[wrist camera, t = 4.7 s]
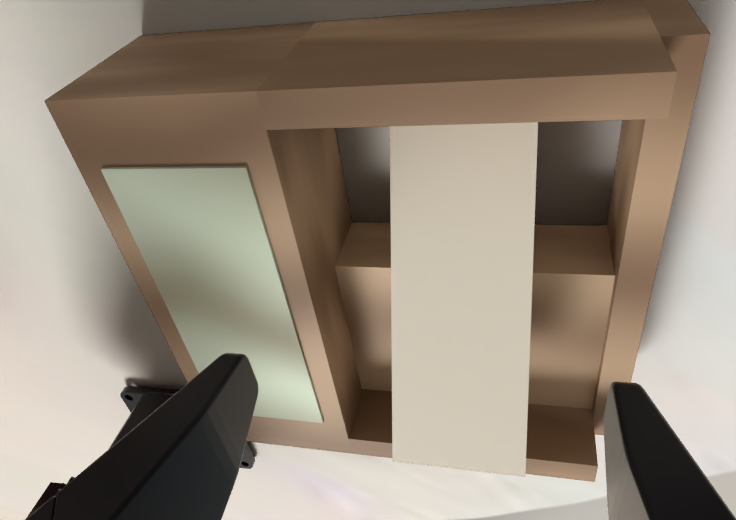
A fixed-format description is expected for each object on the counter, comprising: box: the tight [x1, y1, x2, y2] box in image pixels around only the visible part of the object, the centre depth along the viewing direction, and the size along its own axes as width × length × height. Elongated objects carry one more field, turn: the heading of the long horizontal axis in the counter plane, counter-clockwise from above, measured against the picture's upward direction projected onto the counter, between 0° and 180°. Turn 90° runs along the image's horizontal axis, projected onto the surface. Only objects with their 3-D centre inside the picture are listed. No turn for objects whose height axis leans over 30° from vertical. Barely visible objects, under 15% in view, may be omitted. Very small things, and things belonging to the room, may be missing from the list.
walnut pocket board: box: [45, 0, 710, 482], centre depth 20 cm, size 15×16×5 cm
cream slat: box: [390, 122, 538, 477], centre depth 18 cm, size 11×4×2 cm, turn 8°
